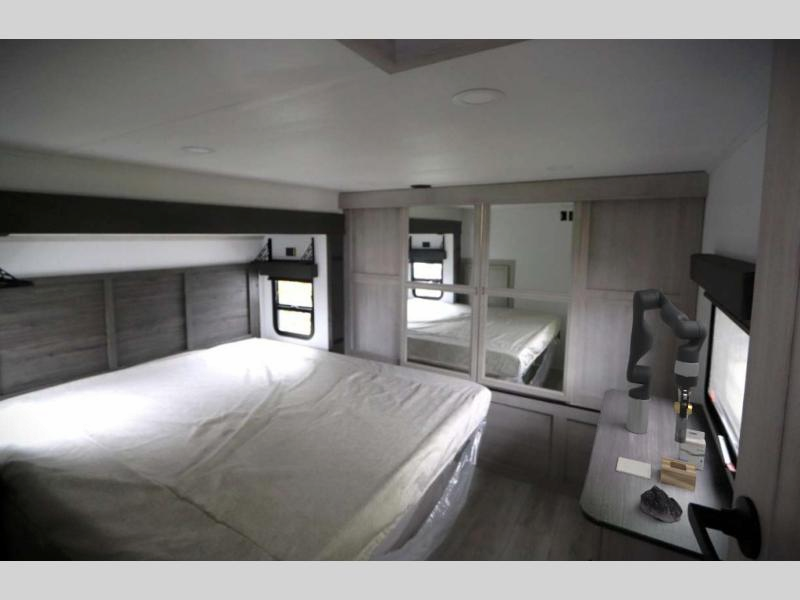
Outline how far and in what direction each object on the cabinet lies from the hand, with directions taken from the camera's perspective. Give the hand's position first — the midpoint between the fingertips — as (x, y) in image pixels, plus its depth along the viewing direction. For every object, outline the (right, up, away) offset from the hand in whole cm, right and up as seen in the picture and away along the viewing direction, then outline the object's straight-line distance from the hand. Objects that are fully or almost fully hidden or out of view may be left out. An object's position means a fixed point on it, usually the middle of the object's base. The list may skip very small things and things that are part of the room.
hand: (682, 414), depth 160 cm
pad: (-12, -26, +12) cm, 31 cm away
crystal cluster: (-18, -30, -15) cm, 38 cm away
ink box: (+13, -26, +14) cm, 32 cm away
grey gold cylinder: (0, -11, +2) cm, 11 cm away
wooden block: (0, -27, +4) cm, 27 cm away
